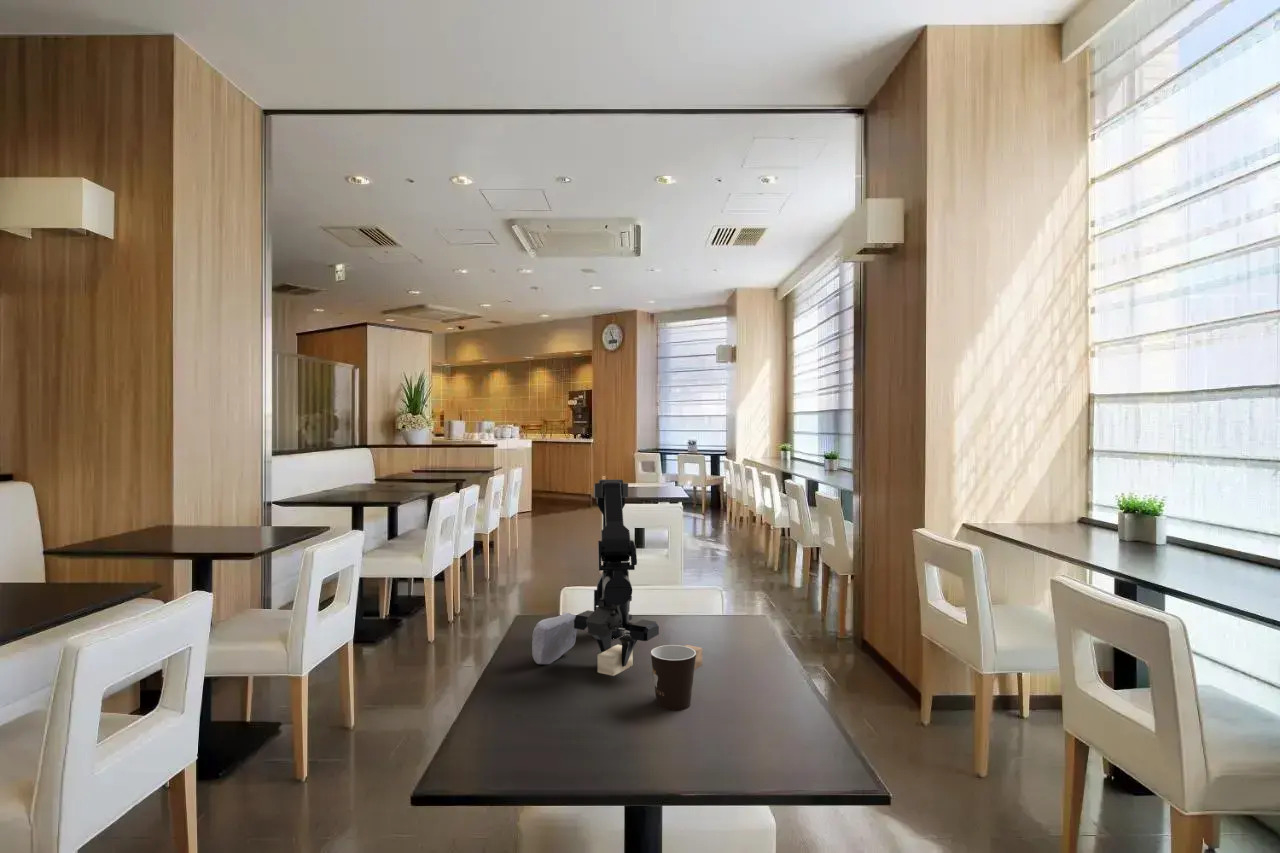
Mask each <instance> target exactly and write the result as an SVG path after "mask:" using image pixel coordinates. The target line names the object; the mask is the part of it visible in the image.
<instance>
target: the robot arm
mask: <svg viewBox="0 0 1280 853" xmlns="http://www.w3.org/2000/svg"><path fill="white" fill-rule="evenodd" d="M623 480H624V479H598V482H597V483H596V482H595V483H594V484H593V498H594V499H596V504H597V507H598V509H599V511H600V513H601V514H602V529H601V532H600V533H601V535H600V540H598V541H597V546H598V547H597V555H598V556H597V557H598V562H597V563H598V571H600V572H601V571H602V572H601V575H600V576H599V577H598V579H597V581H596V589H593V610H589V609H588V610H585V611H583V612H580V613H578V614H575V615H576V617H575V619H574V628H575V629H578V630H581V631H585V630H588V631H587V634H588V635H589V636H592V637H593V638H594V639H595V640H596V643H597V644H598V647H599V649H600V650H599V651H600V652H601V653H602V652H604V651H606V650H608V649H610V648H612V640H611V639H613V638H614V639H616V640H619V642H620V644H621V645H622V667H624V666H626V664H627V662H628V660H629V657H630V655H631V652H632V650H633V651H634V648H635V646H636V644H637V642H638V641H641V642H648V641H649V640H652V639H653V638H655V637H656V636H659V634H660V630H659V629H660V627H659V624H658V623H657V621H655V620H654V621H653V620H648V619H640V620H638V621H637V622H630V621H631V620H632V618H633V615H632V614H629V613H630V611H631V610H630V606H631V604H630V602H632V599H633V597H632V595H633V586H632V584H631V580H630V572H629V571H636V569H635V566H637V564H638V558H637V555H638V554H637V546H636V544H635V542H634V540H631V535H630V530H629V528H627V527H626V526H625V523H624V513H623V510H624V507H625V506H626V499H627V498H629V483H627V482H624V481H623ZM623 635H624V636H623ZM621 636H623V637H621ZM619 637H620V638H619ZM617 638H618V639H617Z"/></svg>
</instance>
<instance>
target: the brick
mask: <svg viewBox="0 0 1280 853" xmlns="http://www.w3.org/2000/svg"><path fill="white" fill-rule="evenodd" d="M684 646H686V647H689V648H692V649H694V650H695V651H696V659H695V668H694V671H695V670H696V669H699V668H701V667H702V666H703V648H702V647H700V646H699V647H698V646H695V645H690V644H686V645H684Z"/></svg>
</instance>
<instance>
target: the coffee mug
mask: <svg viewBox="0 0 1280 853" xmlns="http://www.w3.org/2000/svg"><path fill="white" fill-rule="evenodd" d="M650 656H651V666H652V676H653V685H654V693H655V702H656V706H658V708H660V709H663V710H666V711H673V712H676V711H677V712H678V711H684V710H687V709H689V708H690V706H691V701H692V694H693V693H692V692H693V683H694V675H695V670H694V668H695V659H696V651H695V650H694V649H692V648H689V647H686V646H685V645H679V644H669V645H668V644H666V645H660V646H657V647H654V648H652V649H651V651H650Z"/></svg>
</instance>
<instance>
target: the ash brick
mask: <svg viewBox="0 0 1280 853" xmlns="http://www.w3.org/2000/svg"><path fill="white" fill-rule="evenodd" d="M633 651H634V649H633V650H632V652H631V655H630V657H629V660H628V662H627V664H626V666H624V667H622V644H616V645H613V646H611V648H610V649H608V650H606V651H604V652H602V653H599V654H597V673H599V674H604V675H607V676H613V677H615V676H616V675H618V674H620V673H623V671H626V670H627V669H629V668H631V667H633V661H634V660H633V658H634V656H633V655H634V654H633V653H634V652H633ZM630 666H631V667H630Z"/></svg>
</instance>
